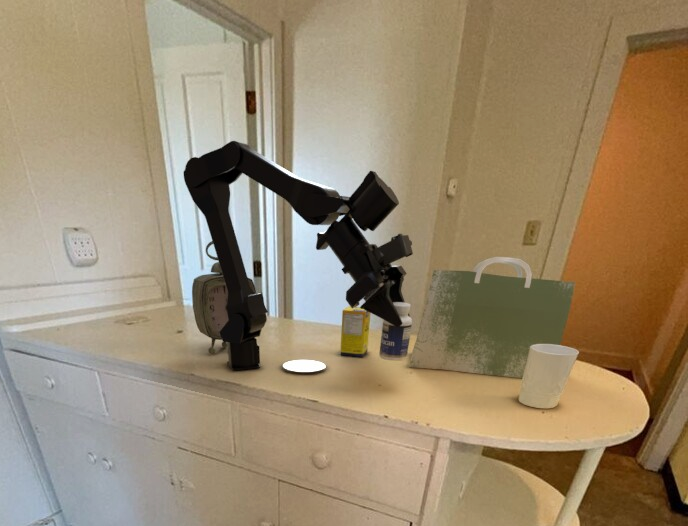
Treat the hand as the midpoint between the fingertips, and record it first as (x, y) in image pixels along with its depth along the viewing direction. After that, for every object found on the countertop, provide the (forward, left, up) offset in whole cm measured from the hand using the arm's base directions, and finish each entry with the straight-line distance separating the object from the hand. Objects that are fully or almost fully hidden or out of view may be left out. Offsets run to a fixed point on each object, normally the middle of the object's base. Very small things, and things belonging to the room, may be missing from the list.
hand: (404, 322), depth 79 cm
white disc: (-12, +21, -13) cm, 27 cm away
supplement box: (+5, +29, -13) cm, 32 cm away
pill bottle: (-1, +1, -7) cm, 7 cm away
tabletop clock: (-25, +44, -13) cm, 52 cm away
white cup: (+22, -15, -13) cm, 30 cm away
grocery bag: (+28, +9, -13) cm, 32 cm away
